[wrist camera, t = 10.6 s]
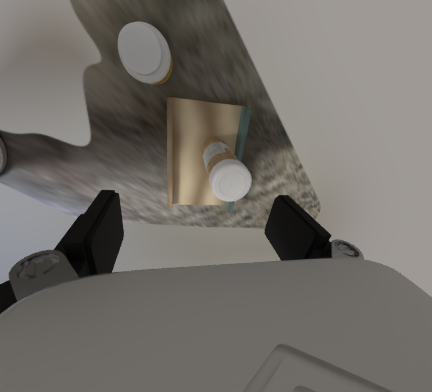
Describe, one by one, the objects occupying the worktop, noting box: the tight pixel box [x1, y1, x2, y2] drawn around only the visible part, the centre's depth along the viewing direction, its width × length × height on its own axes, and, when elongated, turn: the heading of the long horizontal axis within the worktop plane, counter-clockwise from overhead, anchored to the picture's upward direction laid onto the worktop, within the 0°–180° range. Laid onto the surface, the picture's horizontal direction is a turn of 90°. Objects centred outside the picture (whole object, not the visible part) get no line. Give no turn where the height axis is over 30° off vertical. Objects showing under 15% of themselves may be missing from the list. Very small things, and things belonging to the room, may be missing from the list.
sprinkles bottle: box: [201, 137, 252, 202], centre depth 26 cm, size 5×5×13 cm
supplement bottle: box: [118, 22, 173, 85], centre depth 22 cm, size 5×5×10 cm
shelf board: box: [167, 97, 252, 212], centre depth 32 cm, size 12×18×4 cm, turn 173°
